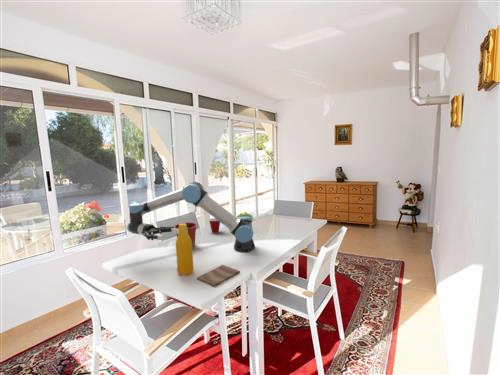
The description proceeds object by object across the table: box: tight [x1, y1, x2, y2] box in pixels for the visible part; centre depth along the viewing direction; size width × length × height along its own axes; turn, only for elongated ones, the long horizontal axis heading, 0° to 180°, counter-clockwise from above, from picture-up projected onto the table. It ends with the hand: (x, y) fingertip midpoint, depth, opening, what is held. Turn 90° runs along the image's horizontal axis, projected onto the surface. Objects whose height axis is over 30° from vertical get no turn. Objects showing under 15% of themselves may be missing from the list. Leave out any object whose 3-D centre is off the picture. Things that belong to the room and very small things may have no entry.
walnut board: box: [196, 264, 241, 288], centre depth 149 cm, size 20×14×1 cm
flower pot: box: [173, 222, 198, 248], centre depth 197 cm, size 16×16×16 cm
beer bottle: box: [175, 222, 195, 276], centre depth 153 cm, size 9×9×29 cm
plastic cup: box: [208, 217, 221, 234], centre depth 229 cm, size 11×11×12 cm
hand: (171, 234), depth 157 cm, fingers open, 13 cm apart
